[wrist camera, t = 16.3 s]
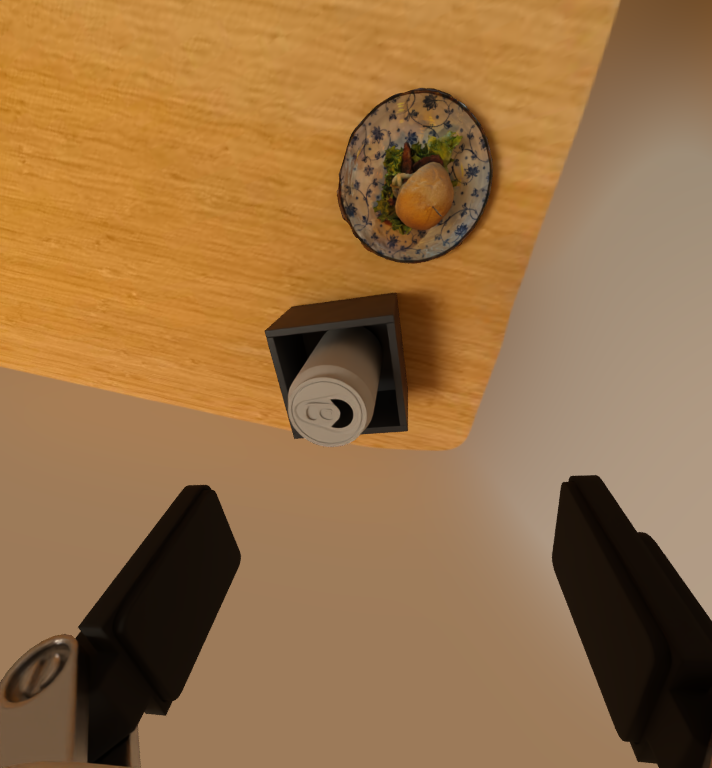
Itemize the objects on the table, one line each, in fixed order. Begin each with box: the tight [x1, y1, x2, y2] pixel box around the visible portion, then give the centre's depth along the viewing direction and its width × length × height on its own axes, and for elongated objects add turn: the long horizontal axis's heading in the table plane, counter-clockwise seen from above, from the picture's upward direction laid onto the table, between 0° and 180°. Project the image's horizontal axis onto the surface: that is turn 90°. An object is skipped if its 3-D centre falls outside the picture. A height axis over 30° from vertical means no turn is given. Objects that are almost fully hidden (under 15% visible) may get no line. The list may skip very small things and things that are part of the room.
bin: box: [265, 293, 408, 439], centre depth 34 cm, size 10×10×8 cm
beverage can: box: [288, 326, 383, 447], centre depth 31 cm, size 6×6×12 cm
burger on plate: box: [337, 88, 493, 264], centre depth 27 cm, size 12×12×8 cm
